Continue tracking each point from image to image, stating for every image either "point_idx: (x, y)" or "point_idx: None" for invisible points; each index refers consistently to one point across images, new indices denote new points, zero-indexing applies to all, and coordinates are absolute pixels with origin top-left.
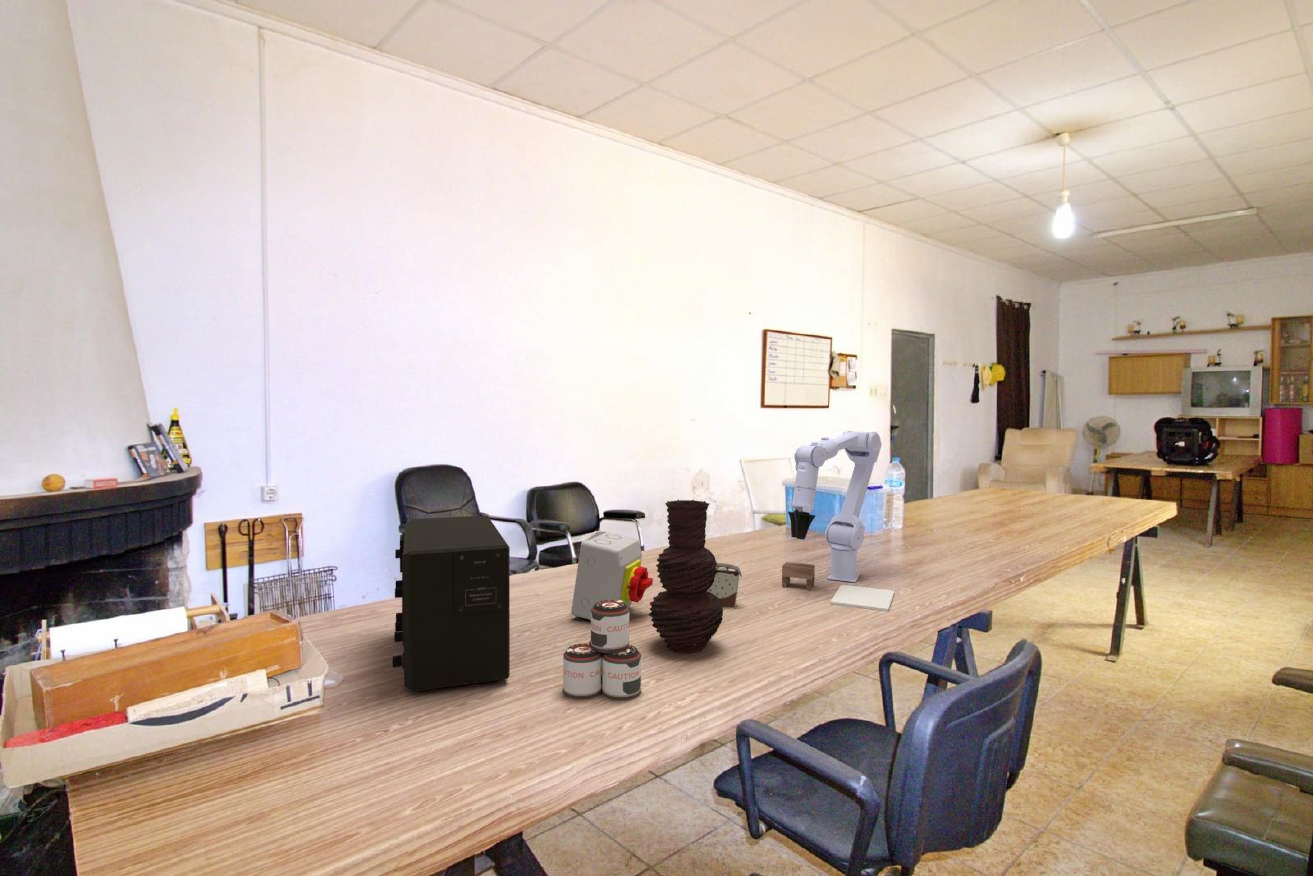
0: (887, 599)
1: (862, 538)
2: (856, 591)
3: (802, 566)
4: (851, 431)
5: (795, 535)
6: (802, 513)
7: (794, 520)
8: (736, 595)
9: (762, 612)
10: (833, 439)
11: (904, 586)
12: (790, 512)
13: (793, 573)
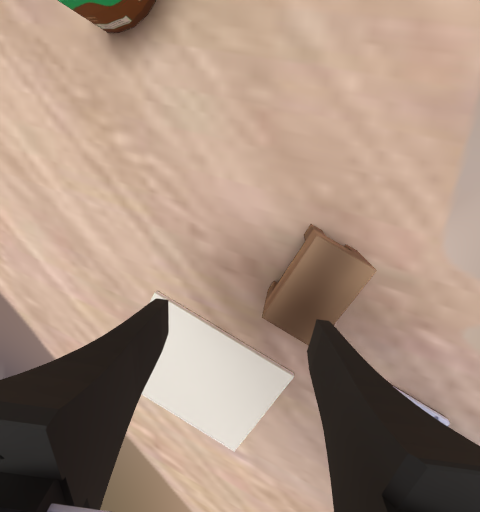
0: (172, 407)
1: None
2: (232, 380)
3: (295, 301)
4: None
5: (314, 342)
6: None
7: (352, 416)
8: (79, 12)
9: (86, 108)
10: None
11: (284, 490)
12: (403, 464)
13: (293, 263)
